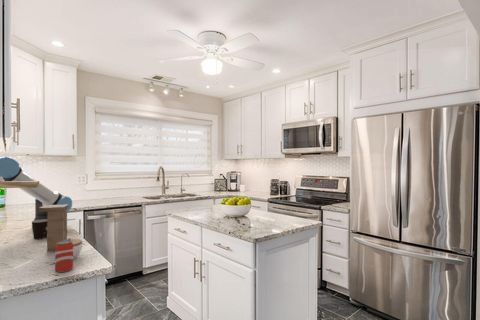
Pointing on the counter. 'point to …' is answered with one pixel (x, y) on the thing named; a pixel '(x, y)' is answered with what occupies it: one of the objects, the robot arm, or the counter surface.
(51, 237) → the walnut stand
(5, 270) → the counter surface
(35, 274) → the counter surface
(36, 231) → the coffee mug
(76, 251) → the lidded jar
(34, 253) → the counter surface
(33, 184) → the tan wooden bar
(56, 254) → the beverage can
